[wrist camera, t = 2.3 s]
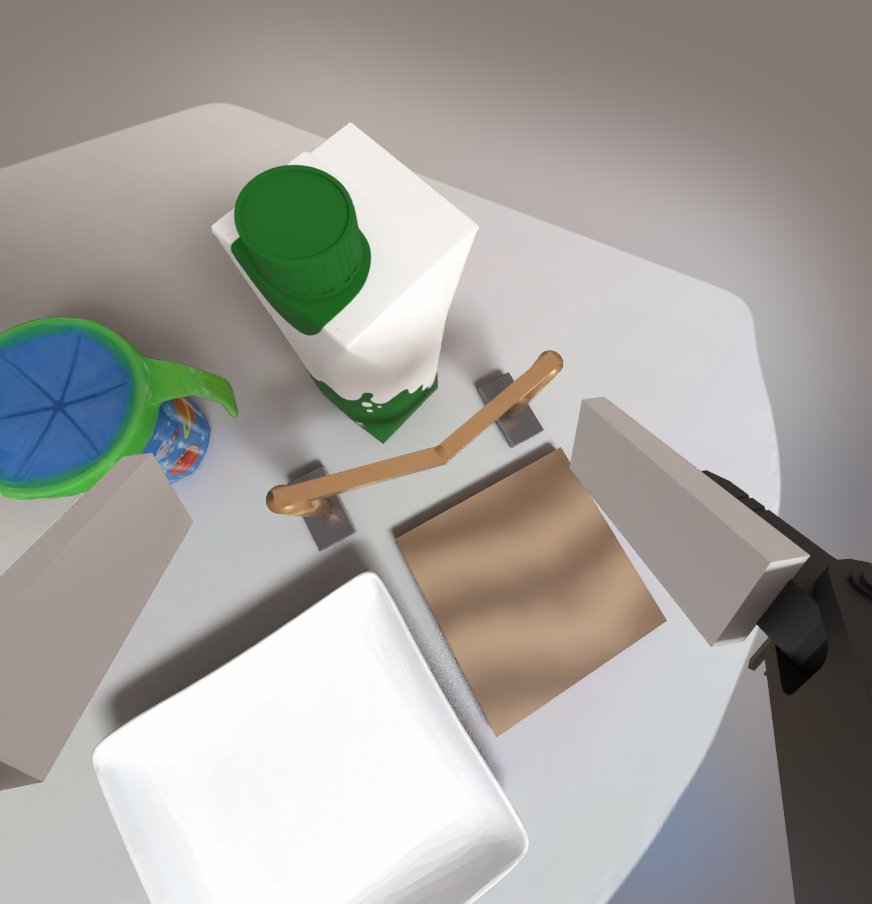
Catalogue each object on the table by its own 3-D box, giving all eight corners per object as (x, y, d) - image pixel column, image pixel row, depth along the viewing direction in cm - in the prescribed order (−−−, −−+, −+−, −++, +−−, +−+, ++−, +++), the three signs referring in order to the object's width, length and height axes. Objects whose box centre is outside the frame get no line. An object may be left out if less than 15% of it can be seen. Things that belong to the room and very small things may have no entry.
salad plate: (258, 1035, 23) (232, 1122, 20) (120, 724, 26) (77, 754, 23) (524, 811, 27) (540, 852, 23) (376, 559, 29) (371, 563, 26)
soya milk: (310, 392, 32) (147, 174, 12) (382, 325, 33) (342, 39, 14) (384, 459, 31) (337, 342, 11) (453, 386, 33) (517, 176, 13)
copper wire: (291, 484, 30) (228, 462, 20) (505, 376, 33) (548, 309, 23) (322, 550, 29) (274, 563, 19) (539, 432, 32) (599, 389, 22)
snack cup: (64, 526, 28) (-127, 525, 18) (62, 399, 30) (-111, 336, 20) (270, 486, 30) (199, 466, 20) (256, 369, 32) (185, 296, 22)
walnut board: (395, 538, 29) (394, 539, 28) (556, 449, 32) (560, 447, 31) (493, 729, 27) (496, 737, 26) (658, 617, 30) (666, 620, 29)
